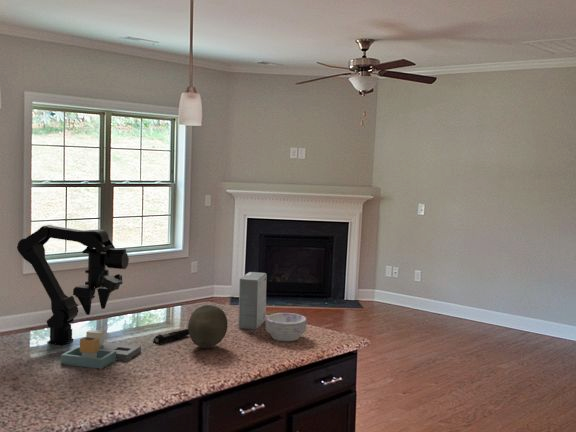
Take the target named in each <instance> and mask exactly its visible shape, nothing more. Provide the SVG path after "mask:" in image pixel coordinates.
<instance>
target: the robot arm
mask: <svg viewBox="0 0 576 432" xmlns="http://www.w3.org/2000/svg"><path fill="white" fill-rule="evenodd" d="M50 239H57V240H64V241H69V242H77V243H79V244H81V245H82V246H86V247H85V249H84V250H82V251H81V253H82V254H88V256H87V258H88V261H87V262H88V263H87V264H88V265H87V269H85V270H84V272H85V274H87V280H86V281H85V282H84V284H80V285H77V286H74V288H73V289H72V295H70V296H67V294H65V293H64V290H63V289H62V287H61V285H60V283H59V281H58V279H57V278H56V276H55V274H54V272H53V270H52V268H51V266H50V265H49V263H48V261H47V259H46V249H45V246H44V245H45V244H46V243H48V242H49V240H50ZM16 248H17V252H18V254H20V255H21V257H22V258H23V260H25V261H26V262H28V263H29V264H30V265H31V266H32V268H33V269H34V271H35V273H36V275H37V277H38V280H39V281H40V283H41V284H42V287H43V288H44V290H45V292H46V294H47V296H48V298H49V300H50V309H51V312H52V316H50V317H49V318H48V320H46V324H47V327H48V328H49V340H48V341H46V343H47V344H52V345H53V344H54V345H59V346H61V345H62V346H64V345H67V344H69V343H70V342H73V341H74V338H73V328H72V324H71V323H73V322H74V319H75V318H76V317H77V316H78V313H79V308H78V306H79V304H78V303H77V302H76V301H75V298H77V299H78V301H79V303H80V305H81V306H82V308H83V310H84V313H85V315H88V316H89V315H90V313H91V309H92V308H91V307H92V302H93V299H94V298H95V297H96V295H95V293H96V291H97V295H98V300H99V305H100V308H101V309H102V310H104V309H106V306H107V303H108V300H109V298H110V295H111V294H112V293H113V292H114V291H116V290H119V289H120V285H122V284H123V275H122V274H120V273H117V274H115V275H114V274H112V275H111V274H110V273H109V269H116V270H117V269H119V270H126V269H127V268H128V266H129V261H130V259H129V254H128V253H127V249H126V248H116V247H115V246H114V244H113V242H112V241H111V239H110V238H109V234H108V232H107V231H106V230H104V229H85V230H84V229H83V230H82V229H75V228H69V227H61V226H56V225H55V226H54V225H52V224H46V225H42V226H41V227H39V228H38V229H37V230H36V231H34V232H33V233H32V234H30V235H28V236H27V237H26V238H25V237H24V238H21V239H20V240H19V241H18V242H17V246H16ZM106 268H108V269H106ZM74 296H75V297H74Z"/></svg>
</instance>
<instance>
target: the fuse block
mask: <svg viewBox="0 0 576 432" xmlns="http://www.w3.org/2000/svg"><path fill="white" fill-rule="evenodd" d="M99 349H102V350H111V351H116V359H117V360H116V361H123V360H124V361H123V362H128V361H129V360H130V358H131V359H132V358H134V357H135V356H137V355H139V354H140V353H141V351H142V347H141V345H136V344H135V345H134V344H126V343H118V342H109V341H105V343H103V344H102V347H100V348H99ZM133 356H134V357H133ZM127 360H128V361H127Z"/></svg>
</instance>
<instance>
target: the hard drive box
mask: <svg viewBox="0 0 576 432" xmlns="http://www.w3.org/2000/svg"><path fill="white" fill-rule="evenodd" d="M238 288H239V292H238V294H239V295H238V322H237V323H238V324H237V325H238V326H237V327H238V329H243V330H244V329H246V330H255V331H256V330H257V329H259V328H260V326H261V325H262V324H263V323H265V322H266V317H267V273H266V272H257V271H256V272H255V271H249V272H247V273H246V274H245V275H243V276H242V277H240V279H239V287H238Z"/></svg>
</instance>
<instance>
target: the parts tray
mask: <svg viewBox="0 0 576 432" xmlns="http://www.w3.org/2000/svg"><path fill="white" fill-rule="evenodd" d="M60 355H61V356H60V358H61V359H60V361H61V362H60V365H65V366H66V365H67V366H73V367H82V368H90V369H97V368H99V369H98V370H103V369H105V368H106V367H108V366H110V365H111V364H113V363H114V362H116V361H117V360H116V351H111V350H102V349H99V351H98V352H97V358H94V357H86V356H82V352H80V346H75V347H74V348H71V349H69V350H68V351H65V352H64V353H62V354H60ZM115 360H116V361H115ZM110 363H111V364H110ZM107 365H108V366H107ZM105 366H106V367H105ZM104 367H105V368H104ZM102 368H103V369H102Z"/></svg>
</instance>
